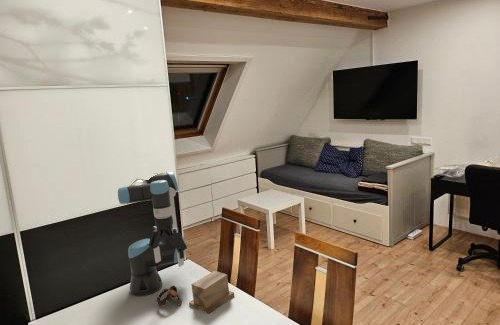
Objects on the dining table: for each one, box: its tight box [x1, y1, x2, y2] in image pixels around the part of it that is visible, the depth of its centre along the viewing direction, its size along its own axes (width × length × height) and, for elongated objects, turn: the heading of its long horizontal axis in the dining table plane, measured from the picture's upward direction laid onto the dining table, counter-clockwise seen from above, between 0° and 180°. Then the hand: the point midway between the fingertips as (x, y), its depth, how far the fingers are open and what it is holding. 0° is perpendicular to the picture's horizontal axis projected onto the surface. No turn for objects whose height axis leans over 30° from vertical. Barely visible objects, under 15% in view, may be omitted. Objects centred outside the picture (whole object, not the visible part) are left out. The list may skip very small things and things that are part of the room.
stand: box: [188, 270, 235, 315], centre depth 152 cm, size 12×16×10 cm
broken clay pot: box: [155, 285, 183, 307], centre depth 154 cm, size 12×10×8 cm
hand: (169, 263), depth 152 cm, fingers open, 13 cm apart
